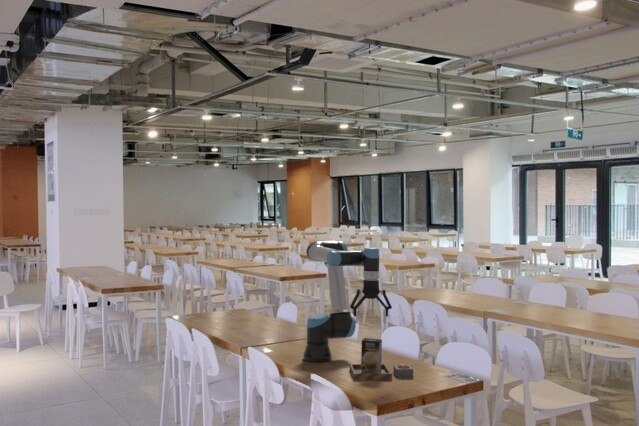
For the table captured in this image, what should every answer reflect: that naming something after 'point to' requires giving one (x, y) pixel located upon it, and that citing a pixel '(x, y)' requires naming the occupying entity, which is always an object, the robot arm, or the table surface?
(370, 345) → the coffee box
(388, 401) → the table surface
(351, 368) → the wooden tray
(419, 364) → the table surface
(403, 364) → the button
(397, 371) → the button housing
